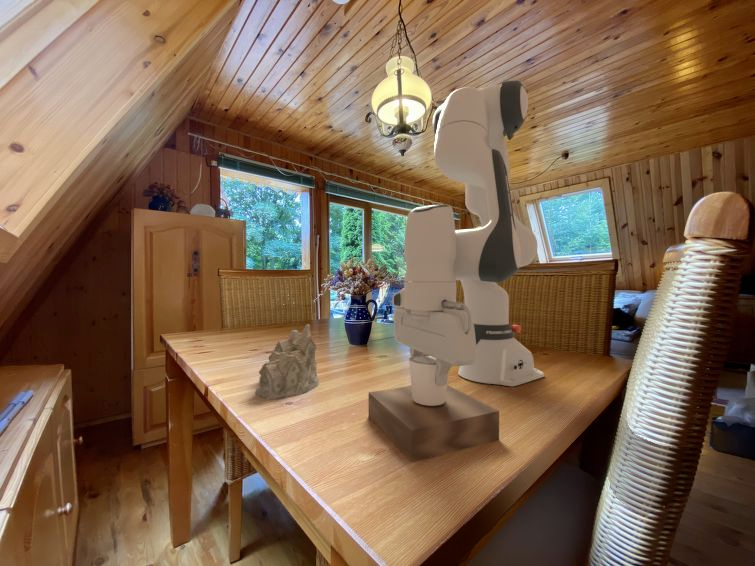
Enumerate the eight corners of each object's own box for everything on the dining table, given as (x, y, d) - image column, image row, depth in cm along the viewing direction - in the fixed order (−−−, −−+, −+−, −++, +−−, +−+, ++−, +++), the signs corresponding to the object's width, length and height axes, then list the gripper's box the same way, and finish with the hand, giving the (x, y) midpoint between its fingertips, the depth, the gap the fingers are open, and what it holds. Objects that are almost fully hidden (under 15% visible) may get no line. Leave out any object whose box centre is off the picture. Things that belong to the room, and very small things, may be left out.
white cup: (450, 408, 50) (450, 364, 50) (407, 405, 51) (407, 362, 51) (448, 393, 57) (448, 355, 57) (410, 391, 58) (410, 353, 58)
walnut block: (440, 405, 65) (440, 381, 65) (499, 442, 50) (499, 411, 50) (368, 419, 58) (368, 392, 58) (411, 465, 44) (411, 429, 44)
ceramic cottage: (296, 370, 87) (294, 317, 86) (331, 387, 76) (329, 326, 74) (238, 387, 77) (235, 326, 75) (269, 410, 65) (266, 338, 64)
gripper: (487, 302, 46) (486, 396, 46) (415, 295, 65) (415, 362, 65) (451, 303, 43) (451, 403, 43) (388, 296, 62) (387, 366, 62)
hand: (429, 378), depth 54 cm, fingers closed on white cup, 5 cm apart
